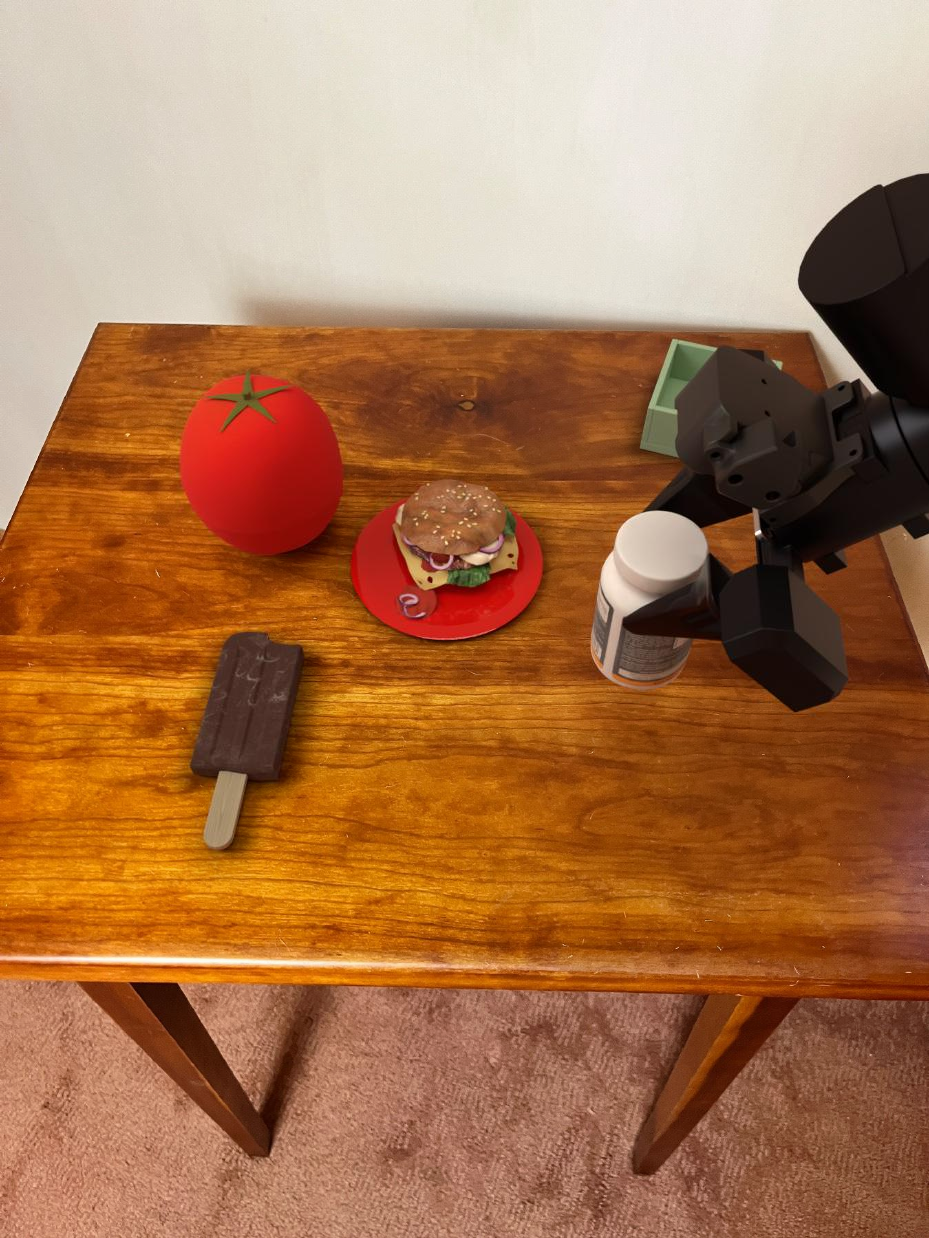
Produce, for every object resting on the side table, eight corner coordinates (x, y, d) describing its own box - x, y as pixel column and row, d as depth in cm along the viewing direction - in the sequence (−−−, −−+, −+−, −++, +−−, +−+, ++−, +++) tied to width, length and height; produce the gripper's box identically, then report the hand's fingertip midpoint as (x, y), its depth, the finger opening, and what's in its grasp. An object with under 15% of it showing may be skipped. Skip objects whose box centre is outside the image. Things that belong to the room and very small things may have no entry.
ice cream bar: (262, 857, 54) (307, 646, 63) (256, 846, 52) (303, 633, 61) (174, 850, 54) (231, 642, 63) (167, 839, 53) (226, 628, 61)
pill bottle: (703, 645, 54) (741, 535, 46) (652, 712, 52) (684, 607, 44) (621, 599, 56) (645, 485, 48) (569, 660, 54) (584, 551, 46)
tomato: (343, 590, 65) (319, 460, 55) (193, 585, 66) (141, 456, 55) (360, 477, 72) (342, 342, 62) (224, 473, 72) (183, 338, 62)
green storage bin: (768, 403, 77) (783, 361, 73) (751, 475, 72) (765, 434, 68) (663, 379, 79) (672, 338, 75) (639, 448, 74) (648, 407, 70)
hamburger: (332, 518, 69) (321, 461, 65) (505, 477, 72) (508, 419, 67) (378, 665, 62) (370, 612, 57) (571, 613, 64) (579, 559, 59)
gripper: (802, 191, 40) (539, 375, 50) (857, 500, 29) (507, 657, 39) (918, 350, 46) (661, 487, 56) (999, 657, 35) (663, 760, 45)
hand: (627, 581), depth 49 cm, fingers closed on pill bottle, 6 cm apart
